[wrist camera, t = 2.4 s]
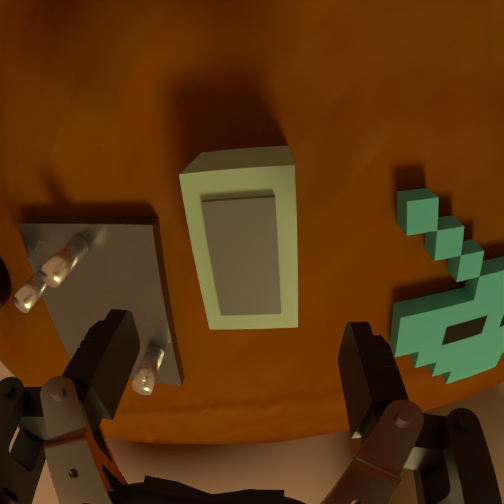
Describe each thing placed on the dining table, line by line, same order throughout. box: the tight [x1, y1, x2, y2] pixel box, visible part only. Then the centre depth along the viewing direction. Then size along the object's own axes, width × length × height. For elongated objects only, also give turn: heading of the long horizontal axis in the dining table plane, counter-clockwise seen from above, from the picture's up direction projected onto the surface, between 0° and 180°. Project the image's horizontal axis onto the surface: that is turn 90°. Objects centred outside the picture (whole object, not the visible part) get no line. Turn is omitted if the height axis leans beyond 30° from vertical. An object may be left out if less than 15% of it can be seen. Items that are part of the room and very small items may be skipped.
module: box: [179, 145, 298, 329], centre depth 17 cm, size 9×5×5 cm, turn 5°
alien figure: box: [390, 188, 504, 384], centre depth 20 cm, size 20×2×20 cm
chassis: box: [13, 217, 184, 395], centre depth 21 cm, size 16×12×5 cm
